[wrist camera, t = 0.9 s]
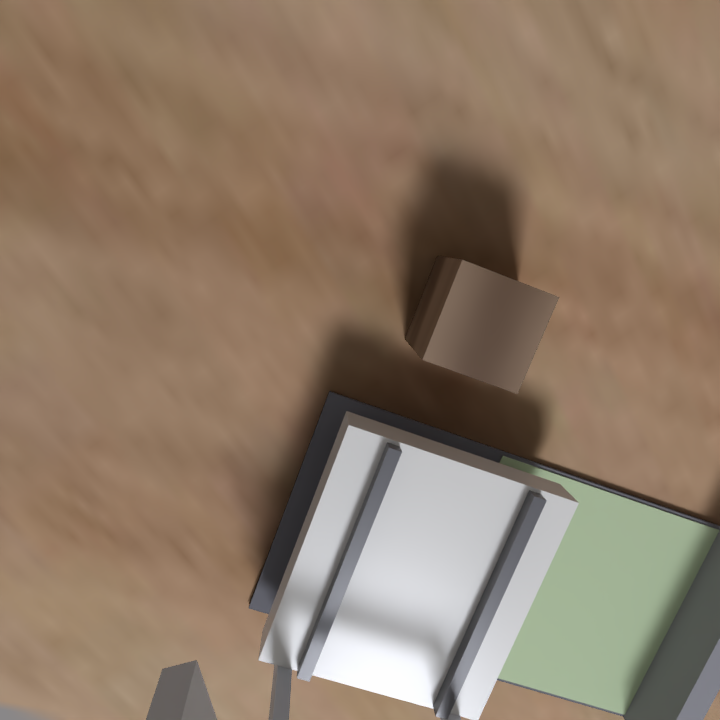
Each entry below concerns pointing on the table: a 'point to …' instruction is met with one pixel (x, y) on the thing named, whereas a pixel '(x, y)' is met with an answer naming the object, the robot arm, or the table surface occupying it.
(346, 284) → the table surface
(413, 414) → the table surface
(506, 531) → the white tray
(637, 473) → the table surface
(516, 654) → the grey holder base
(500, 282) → the block
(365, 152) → the table surface
